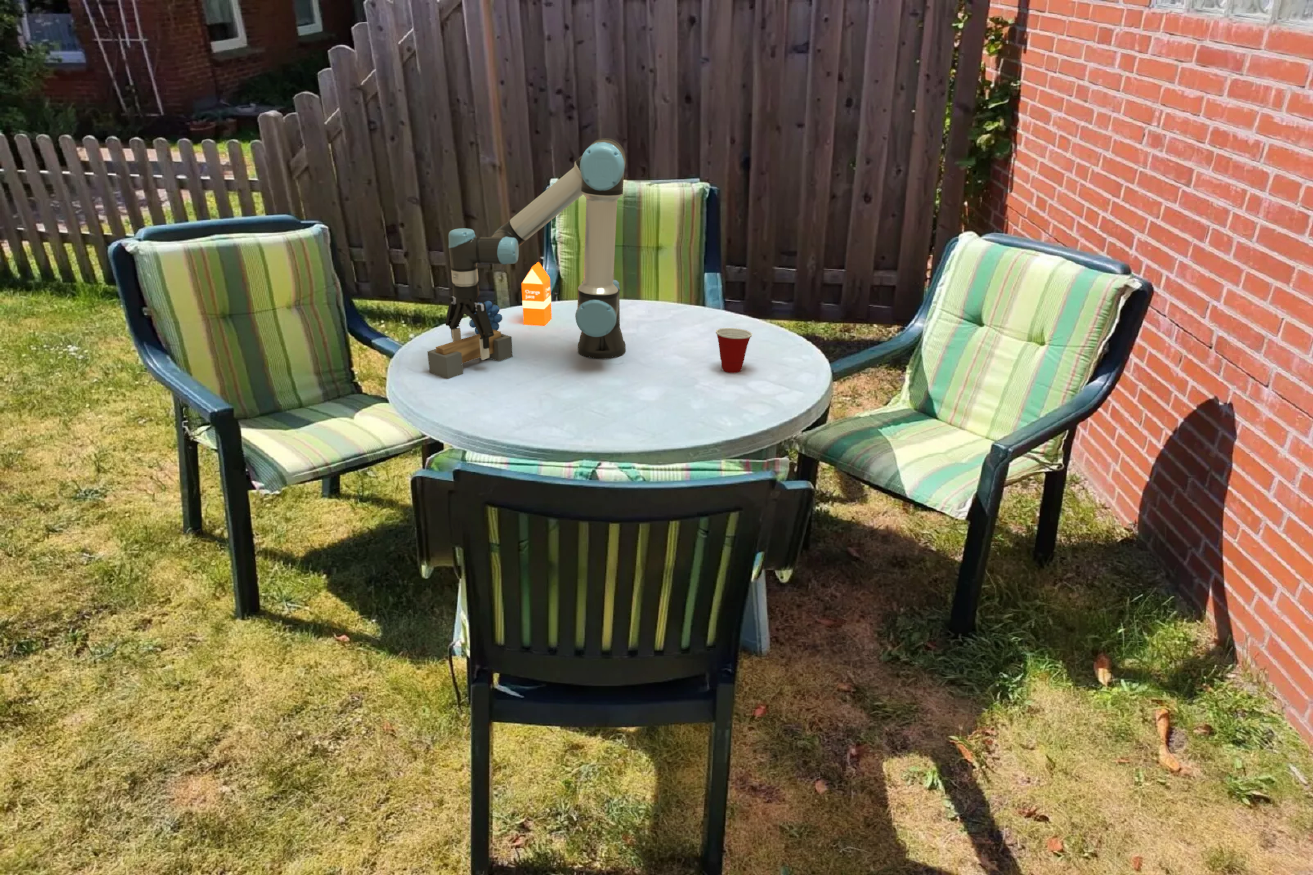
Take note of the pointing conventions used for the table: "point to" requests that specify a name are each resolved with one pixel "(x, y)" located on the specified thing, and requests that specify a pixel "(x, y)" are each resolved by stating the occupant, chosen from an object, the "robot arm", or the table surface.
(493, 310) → the grapes
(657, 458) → the table surface
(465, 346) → the slat
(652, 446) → the table surface
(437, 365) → the end caps
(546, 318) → the orange juice
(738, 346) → the plastic cup
